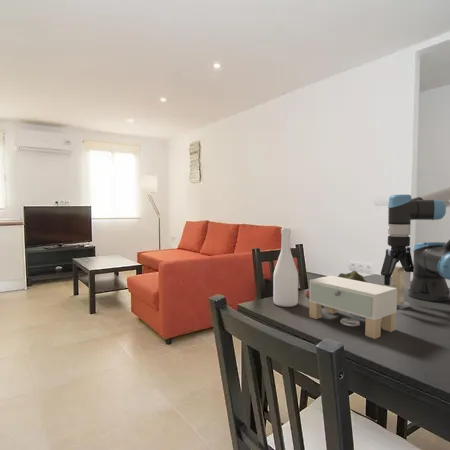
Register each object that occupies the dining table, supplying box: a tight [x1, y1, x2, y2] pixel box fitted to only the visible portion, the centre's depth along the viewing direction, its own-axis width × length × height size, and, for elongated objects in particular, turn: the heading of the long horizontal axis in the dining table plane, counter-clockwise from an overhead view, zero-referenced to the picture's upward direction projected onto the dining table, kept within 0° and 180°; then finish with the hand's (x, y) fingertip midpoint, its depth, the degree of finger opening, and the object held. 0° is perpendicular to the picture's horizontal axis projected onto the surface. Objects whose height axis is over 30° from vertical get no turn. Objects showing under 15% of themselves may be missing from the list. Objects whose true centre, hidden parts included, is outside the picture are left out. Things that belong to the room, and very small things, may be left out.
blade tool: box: [349, 265, 410, 320], centre depth 121 cm, size 26×10×15 cm, turn 126°
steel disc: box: [340, 317, 361, 327], centre depth 109 cm, size 6×6×1 cm
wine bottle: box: [272, 227, 299, 308], centre depth 130 cm, size 10×10×30 cm
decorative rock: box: [337, 270, 367, 282], centre depth 145 cm, size 15×16×10 cm
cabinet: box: [308, 275, 398, 340], centre depth 109 cm, size 14×24×13 cm, turn 36°
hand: (397, 291), depth 127 cm, fingers open, 13 cm apart
